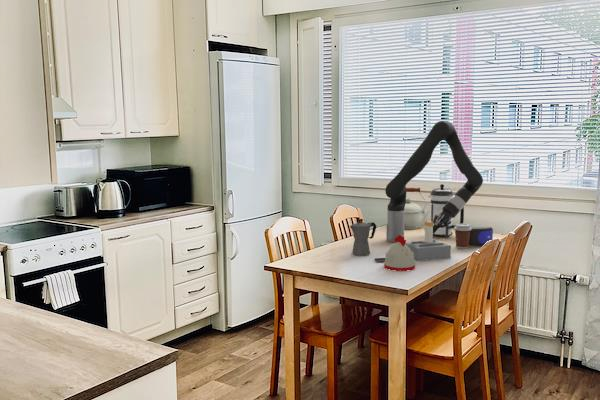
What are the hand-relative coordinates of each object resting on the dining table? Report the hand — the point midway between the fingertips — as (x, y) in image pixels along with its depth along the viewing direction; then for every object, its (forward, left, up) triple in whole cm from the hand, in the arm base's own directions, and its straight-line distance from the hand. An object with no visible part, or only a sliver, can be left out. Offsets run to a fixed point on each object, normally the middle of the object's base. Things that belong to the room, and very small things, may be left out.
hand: (431, 232), depth 283 cm
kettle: (-17, +73, -12) cm, 76 cm away
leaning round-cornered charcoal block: (+22, +31, -12) cm, 40 cm away
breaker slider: (-1, -1, -6) cm, 6 cm away
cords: (-17, -15, -12) cm, 26 cm away
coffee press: (+4, +51, -12) cm, 52 cm away
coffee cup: (+15, +23, -12) cm, 30 cm away
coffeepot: (-33, -4, -12) cm, 36 cm away
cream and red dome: (-12, -26, -12) cm, 32 cm away
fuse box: (-2, -1, -12) cm, 12 cm away
